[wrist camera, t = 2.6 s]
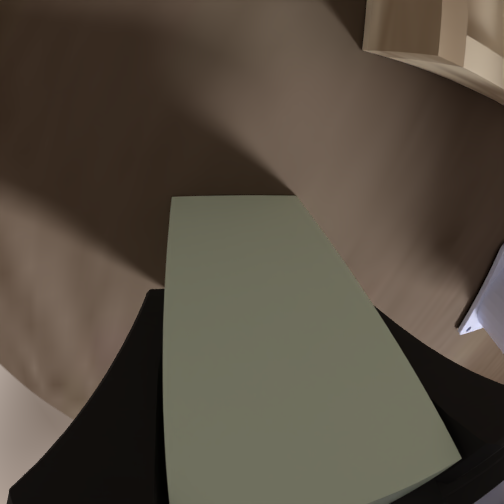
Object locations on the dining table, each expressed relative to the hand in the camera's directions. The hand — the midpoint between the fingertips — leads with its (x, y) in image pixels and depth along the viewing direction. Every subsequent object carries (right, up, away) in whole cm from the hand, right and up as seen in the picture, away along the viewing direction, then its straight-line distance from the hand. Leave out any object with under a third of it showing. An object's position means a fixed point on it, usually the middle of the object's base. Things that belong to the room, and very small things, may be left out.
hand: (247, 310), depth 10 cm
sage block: (-1, +2, +3) cm, 3 cm away
